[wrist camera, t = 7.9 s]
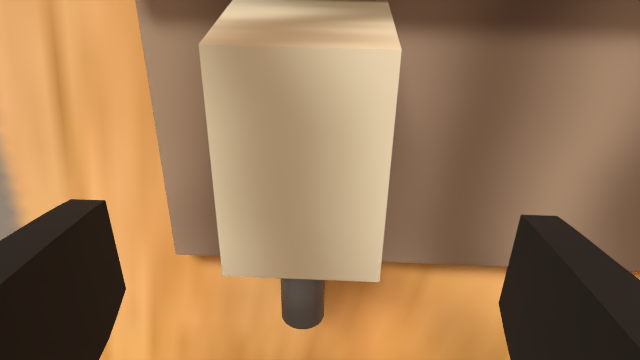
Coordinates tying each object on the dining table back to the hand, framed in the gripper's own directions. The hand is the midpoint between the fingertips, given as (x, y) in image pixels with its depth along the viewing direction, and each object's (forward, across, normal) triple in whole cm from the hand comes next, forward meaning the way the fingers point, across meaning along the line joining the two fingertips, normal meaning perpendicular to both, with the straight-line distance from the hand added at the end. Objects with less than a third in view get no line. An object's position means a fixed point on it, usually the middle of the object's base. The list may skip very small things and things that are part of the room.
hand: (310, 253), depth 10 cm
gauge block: (+8, 0, 0) cm, 8 cm away
